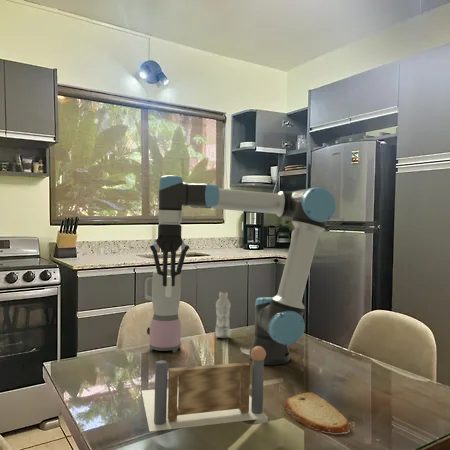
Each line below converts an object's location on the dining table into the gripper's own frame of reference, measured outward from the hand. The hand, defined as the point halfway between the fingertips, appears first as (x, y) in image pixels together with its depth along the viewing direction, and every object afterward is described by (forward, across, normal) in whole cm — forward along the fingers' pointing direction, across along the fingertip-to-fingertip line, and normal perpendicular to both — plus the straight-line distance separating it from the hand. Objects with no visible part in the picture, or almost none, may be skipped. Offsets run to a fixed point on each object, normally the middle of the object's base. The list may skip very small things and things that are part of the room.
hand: (168, 296), depth 135 cm
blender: (+27, -2, -30) cm, 40 cm away
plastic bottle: (+27, -30, -40) cm, 57 cm away
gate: (+25, -6, +32) cm, 41 cm away
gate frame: (+26, -6, +24) cm, 36 cm away
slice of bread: (+27, -35, +35) cm, 57 cm away
